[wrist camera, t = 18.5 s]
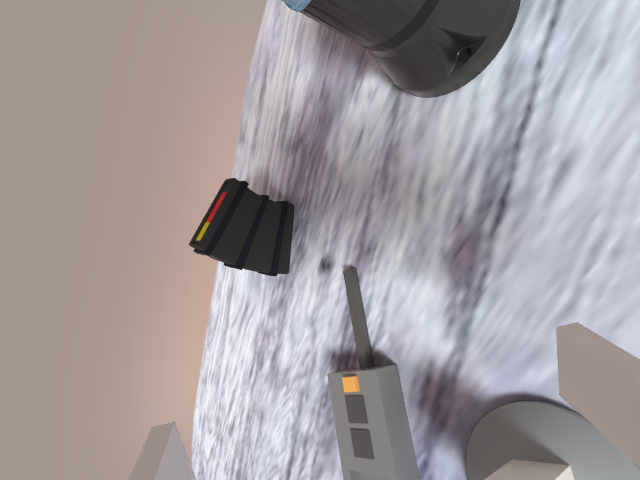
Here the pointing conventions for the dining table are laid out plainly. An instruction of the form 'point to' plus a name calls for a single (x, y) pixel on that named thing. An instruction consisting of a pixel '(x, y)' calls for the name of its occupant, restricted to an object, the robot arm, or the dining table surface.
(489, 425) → the mat
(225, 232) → the magazine
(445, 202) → the dining table surface
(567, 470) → the block
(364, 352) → the power strip
